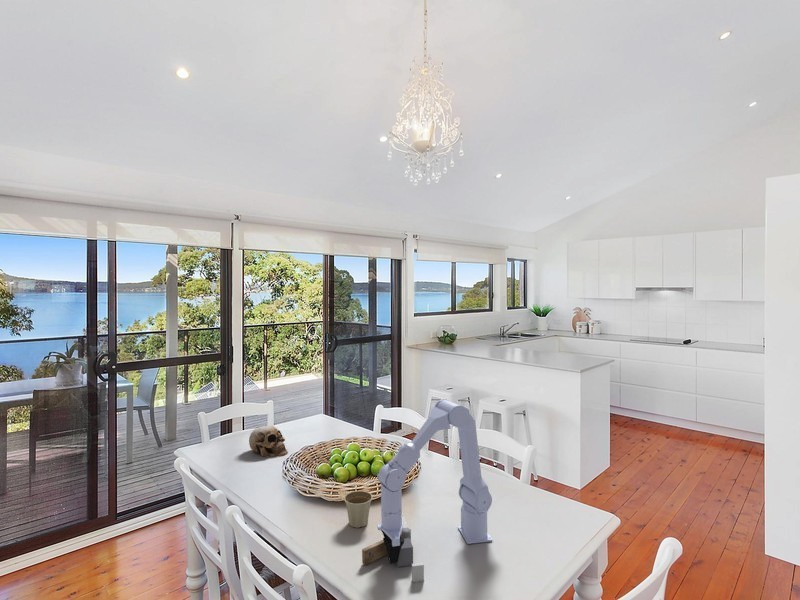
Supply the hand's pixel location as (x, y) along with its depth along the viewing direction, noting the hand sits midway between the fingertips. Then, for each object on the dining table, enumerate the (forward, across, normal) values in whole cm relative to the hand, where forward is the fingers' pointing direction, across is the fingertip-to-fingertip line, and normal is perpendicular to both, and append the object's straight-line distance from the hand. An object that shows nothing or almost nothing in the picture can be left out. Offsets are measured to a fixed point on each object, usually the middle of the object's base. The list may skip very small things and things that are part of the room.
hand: (392, 557), depth 121 cm
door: (+1, -3, -2) cm, 4 cm away
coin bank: (+2, -96, -45) cm, 106 cm away
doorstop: (+2, 0, +3) cm, 4 cm away
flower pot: (+2, -23, -8) cm, 24 cm away
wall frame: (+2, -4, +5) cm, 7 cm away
